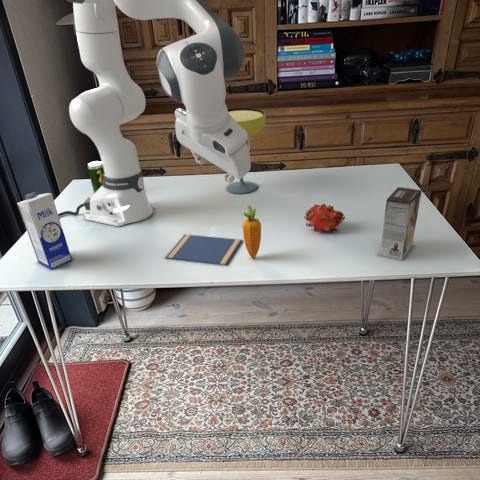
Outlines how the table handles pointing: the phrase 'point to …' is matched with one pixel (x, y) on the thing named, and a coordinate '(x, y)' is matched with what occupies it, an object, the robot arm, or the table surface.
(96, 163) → the beer can
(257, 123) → the cocktail glass
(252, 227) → the carrot
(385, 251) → the coffee box
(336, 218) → the dragon fruit
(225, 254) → the napkin
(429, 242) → the table surface
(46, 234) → the milk carton
